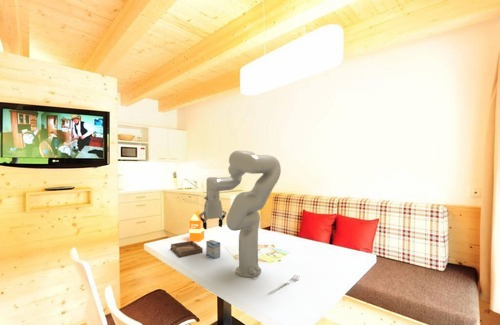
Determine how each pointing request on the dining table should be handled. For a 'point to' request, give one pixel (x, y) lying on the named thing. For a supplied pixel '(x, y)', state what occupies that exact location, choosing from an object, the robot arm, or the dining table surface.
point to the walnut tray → (186, 248)
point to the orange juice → (196, 228)
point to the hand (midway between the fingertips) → (212, 227)
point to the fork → (282, 285)
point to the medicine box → (213, 249)
